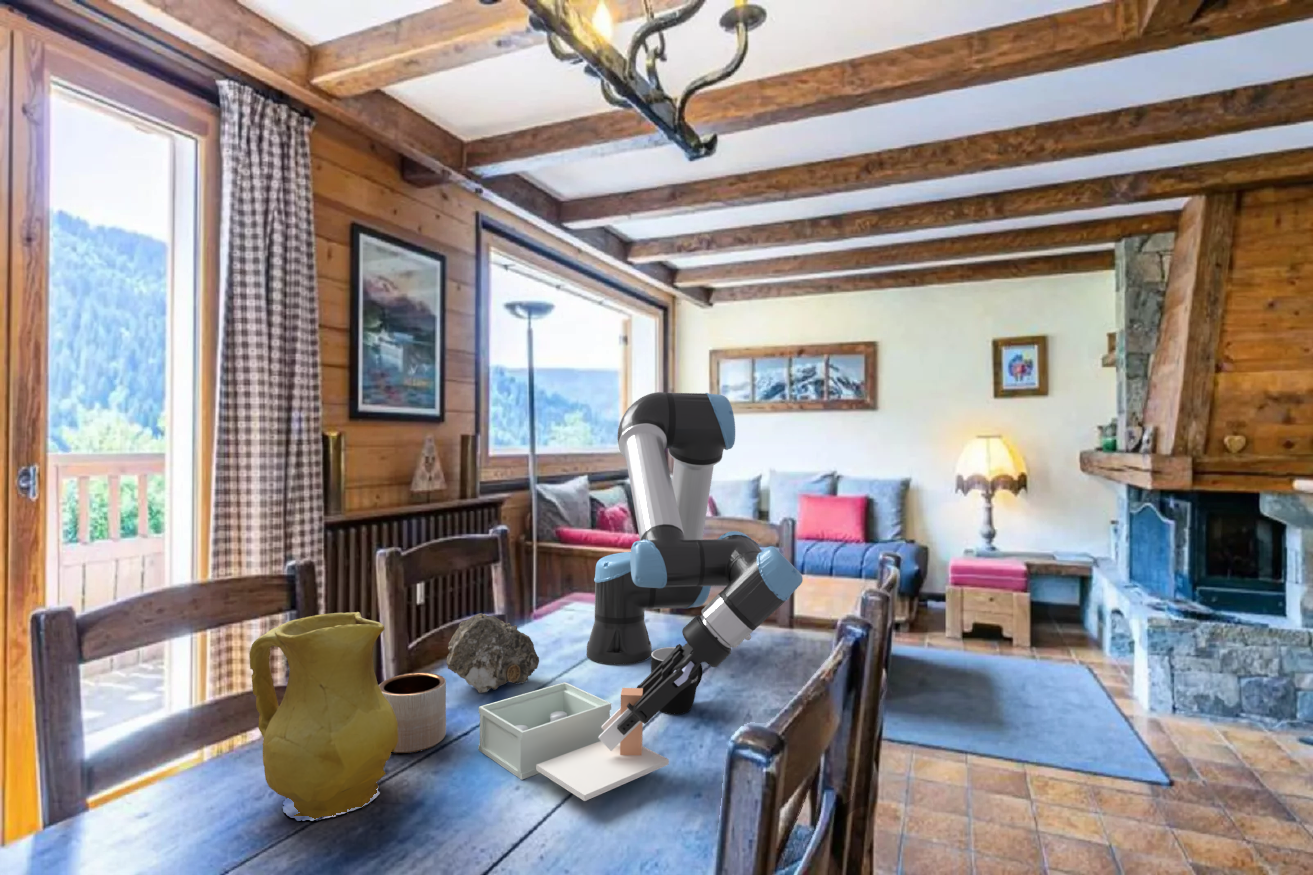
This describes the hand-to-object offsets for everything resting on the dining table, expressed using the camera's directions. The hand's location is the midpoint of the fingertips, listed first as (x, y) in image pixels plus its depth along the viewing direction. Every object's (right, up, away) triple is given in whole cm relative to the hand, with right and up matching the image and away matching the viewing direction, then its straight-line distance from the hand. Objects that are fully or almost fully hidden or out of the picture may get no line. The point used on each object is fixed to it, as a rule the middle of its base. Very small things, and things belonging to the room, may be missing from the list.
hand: (606, 738), depth 106 cm
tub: (-11, -5, +7) cm, 14 cm away
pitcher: (-39, -5, -8) cm, 40 cm away
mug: (+12, -5, +26) cm, 29 cm away
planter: (-33, -5, +9) cm, 35 cm away
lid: (0, -3, -4) cm, 5 cm away
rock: (-26, -5, +37) cm, 45 cm away
